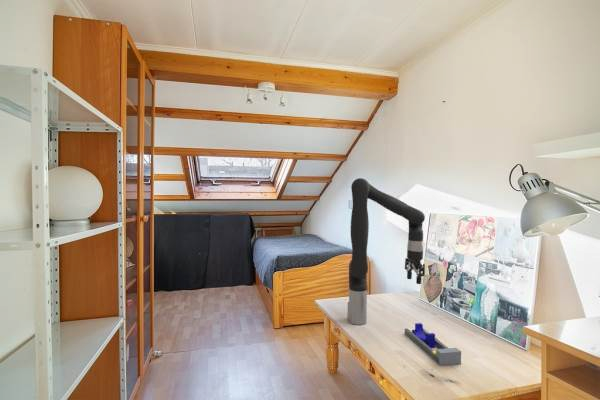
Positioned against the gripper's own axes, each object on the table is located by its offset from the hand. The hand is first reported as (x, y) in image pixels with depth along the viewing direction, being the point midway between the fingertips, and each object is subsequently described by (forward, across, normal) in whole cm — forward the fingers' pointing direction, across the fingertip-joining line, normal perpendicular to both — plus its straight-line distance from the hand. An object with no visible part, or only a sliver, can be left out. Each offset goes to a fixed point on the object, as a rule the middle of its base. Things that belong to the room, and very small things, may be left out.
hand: (413, 281), depth 156 cm
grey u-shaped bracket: (+23, +19, -3) cm, 30 cm away
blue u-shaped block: (+24, +14, -3) cm, 28 cm away
